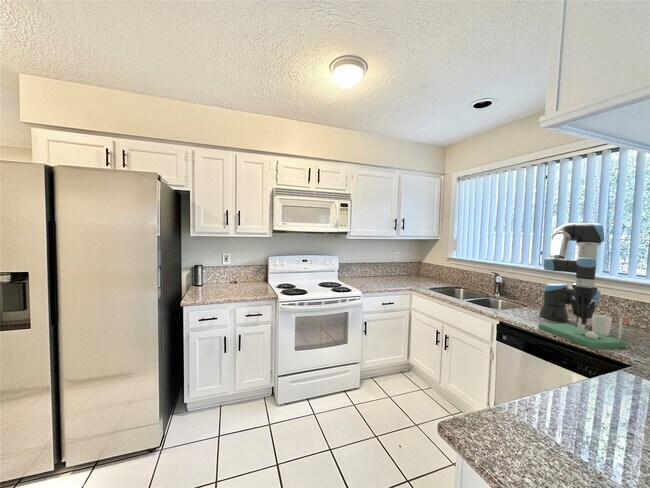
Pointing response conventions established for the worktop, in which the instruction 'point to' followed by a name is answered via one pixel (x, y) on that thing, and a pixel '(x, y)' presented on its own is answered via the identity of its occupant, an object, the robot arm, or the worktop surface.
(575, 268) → the robot arm
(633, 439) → the worktop surface
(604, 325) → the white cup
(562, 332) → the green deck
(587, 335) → the ball
